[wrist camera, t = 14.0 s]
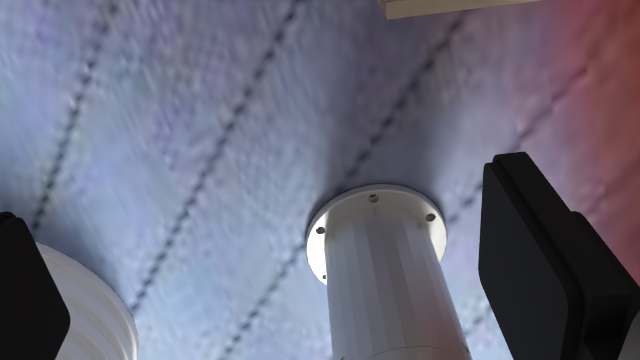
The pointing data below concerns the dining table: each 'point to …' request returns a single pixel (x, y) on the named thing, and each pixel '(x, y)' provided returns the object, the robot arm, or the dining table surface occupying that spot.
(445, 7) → the cold frame
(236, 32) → the dining table surface
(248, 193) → the dining table surface
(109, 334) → the plate stack
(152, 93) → the dining table surface
